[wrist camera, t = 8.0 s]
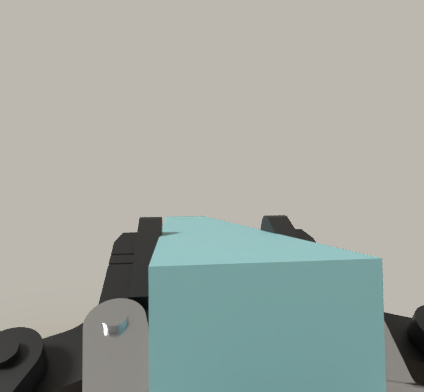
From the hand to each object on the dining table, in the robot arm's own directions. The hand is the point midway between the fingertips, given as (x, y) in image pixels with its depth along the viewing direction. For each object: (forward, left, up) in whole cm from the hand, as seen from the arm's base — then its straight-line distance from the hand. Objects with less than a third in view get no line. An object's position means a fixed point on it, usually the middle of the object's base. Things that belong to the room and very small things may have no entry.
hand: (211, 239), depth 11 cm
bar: (-5, +5, -3) cm, 7 cm away
